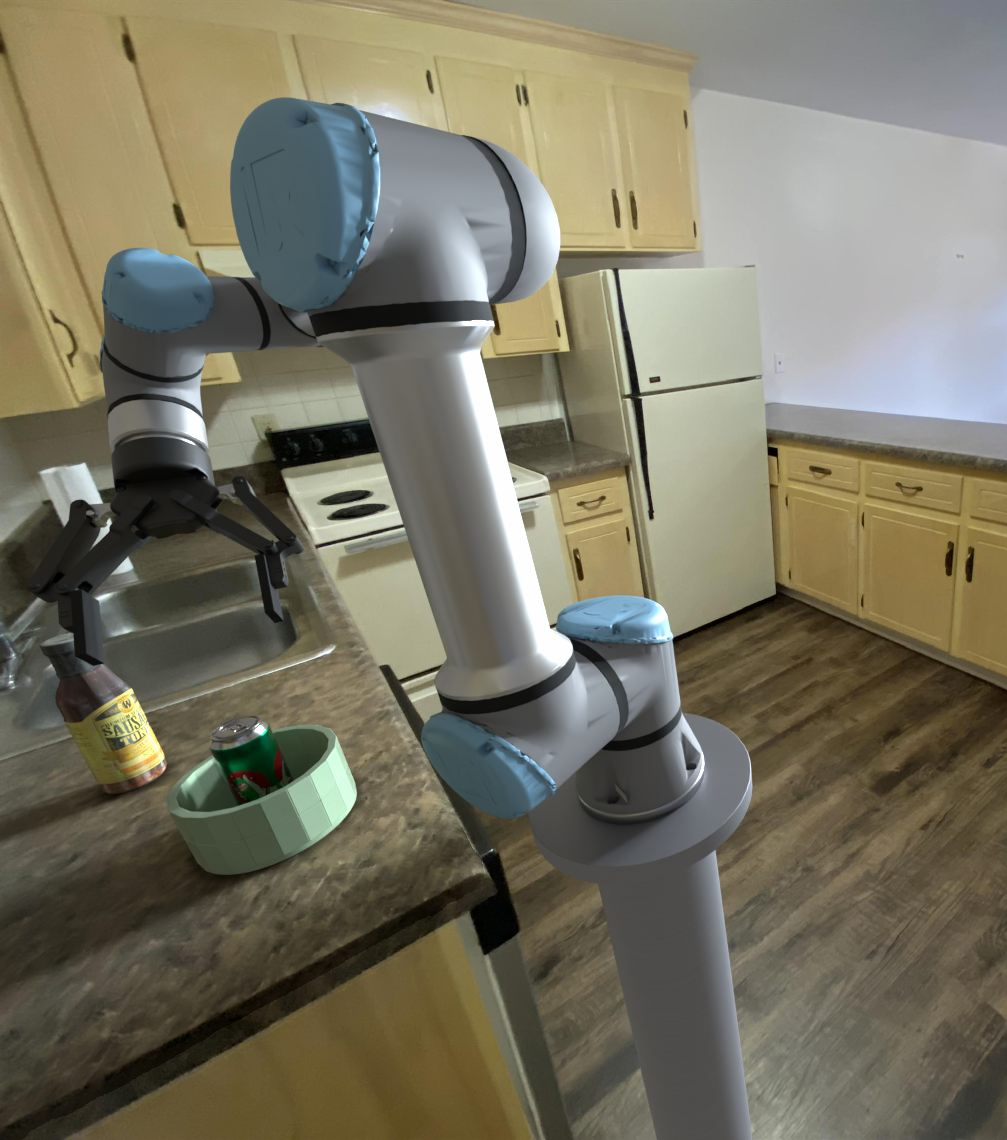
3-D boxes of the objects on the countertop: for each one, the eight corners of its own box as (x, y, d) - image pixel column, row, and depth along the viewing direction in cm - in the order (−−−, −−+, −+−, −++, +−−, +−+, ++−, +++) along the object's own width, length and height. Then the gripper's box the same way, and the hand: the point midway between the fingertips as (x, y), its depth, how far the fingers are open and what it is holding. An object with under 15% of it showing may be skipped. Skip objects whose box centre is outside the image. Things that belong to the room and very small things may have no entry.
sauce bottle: (142, 794, 75) (60, 651, 67) (89, 799, 75) (1, 656, 67) (185, 758, 81) (114, 623, 73) (135, 763, 81) (59, 628, 73)
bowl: (358, 759, 78) (339, 710, 75) (355, 833, 66) (332, 778, 63) (213, 807, 72) (186, 755, 69) (181, 899, 60) (146, 840, 57)
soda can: (286, 795, 72) (246, 709, 67) (315, 805, 70) (276, 717, 65) (239, 827, 68) (193, 737, 63) (268, 838, 66) (223, 746, 61)
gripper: (314, 457, 73) (350, 615, 67) (22, 499, 62) (31, 693, 56) (293, 416, 67) (330, 585, 61) (-36, 454, 56) (-34, 666, 49)
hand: (187, 637), depth 58 cm, fingers open, 13 cm apart
